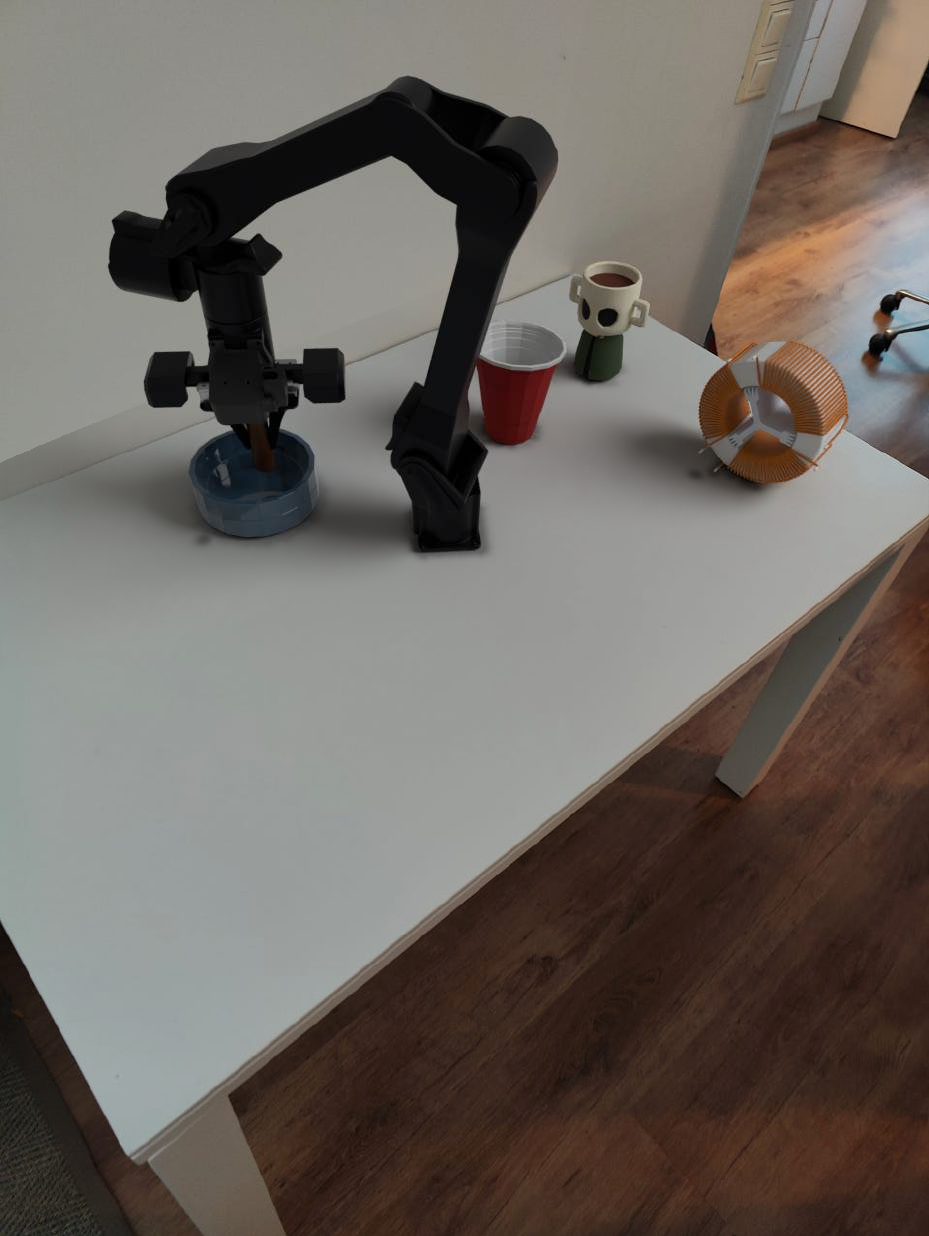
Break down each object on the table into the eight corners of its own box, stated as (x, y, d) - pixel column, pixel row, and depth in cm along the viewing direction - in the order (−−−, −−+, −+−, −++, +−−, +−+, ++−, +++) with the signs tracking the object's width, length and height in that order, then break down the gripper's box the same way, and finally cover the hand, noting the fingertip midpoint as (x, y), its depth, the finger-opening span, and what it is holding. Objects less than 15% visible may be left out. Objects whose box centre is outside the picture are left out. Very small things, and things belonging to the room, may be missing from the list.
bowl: (320, 460, 94) (315, 424, 90) (318, 538, 86) (312, 502, 82) (206, 464, 93) (196, 428, 89) (192, 543, 85) (181, 507, 81)
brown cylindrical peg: (276, 459, 89) (263, 387, 82) (275, 472, 88) (262, 400, 81) (255, 459, 89) (241, 388, 82) (254, 473, 87) (239, 401, 81)
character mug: (546, 367, 108) (558, 271, 98) (575, 344, 112) (589, 249, 102) (619, 398, 104) (638, 301, 94) (646, 373, 108) (667, 277, 98)
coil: (709, 428, 100) (744, 315, 89) (823, 483, 94) (877, 369, 83) (679, 454, 97) (712, 340, 85) (796, 513, 90) (848, 398, 79)
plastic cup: (571, 422, 100) (585, 332, 91) (527, 469, 94) (537, 378, 85) (495, 393, 104) (501, 303, 95) (448, 436, 98) (450, 345, 88)
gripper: (113, 360, 68) (159, 501, 80) (338, 355, 70) (351, 494, 82) (134, 292, 76) (174, 431, 87) (338, 289, 77) (350, 426, 89)
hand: (261, 447), depth 86 cm, fingers closed on brown cylindrical peg, 2 cm apart
